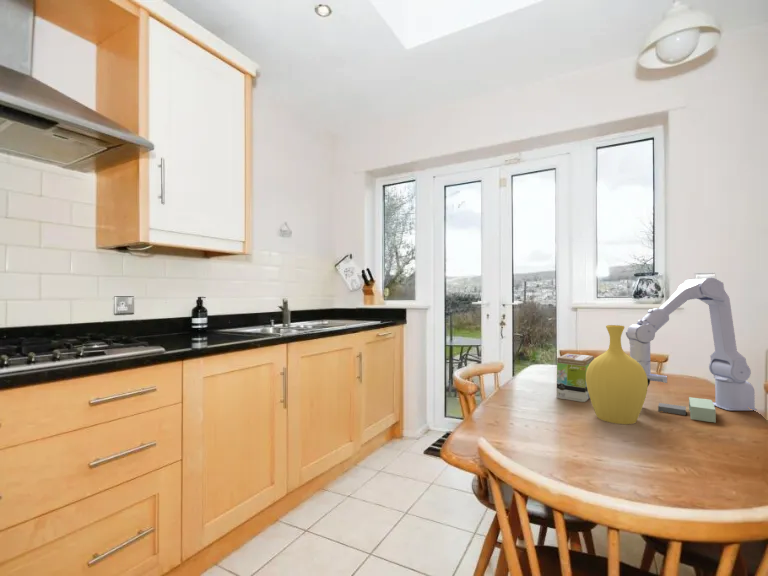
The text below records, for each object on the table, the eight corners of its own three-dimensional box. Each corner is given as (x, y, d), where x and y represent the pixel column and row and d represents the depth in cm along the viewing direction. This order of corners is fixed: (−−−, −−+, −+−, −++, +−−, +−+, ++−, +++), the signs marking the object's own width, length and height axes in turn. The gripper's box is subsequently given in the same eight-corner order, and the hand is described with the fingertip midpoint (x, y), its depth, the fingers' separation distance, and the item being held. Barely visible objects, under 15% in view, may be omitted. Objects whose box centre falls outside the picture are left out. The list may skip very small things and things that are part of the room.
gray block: (658, 412, 126) (658, 406, 126) (659, 408, 130) (659, 402, 130) (685, 416, 121) (685, 410, 121) (685, 412, 125) (685, 406, 125)
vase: (659, 429, 109) (657, 328, 109) (595, 425, 112) (594, 327, 112) (634, 412, 124) (633, 324, 125) (579, 409, 128) (578, 323, 128)
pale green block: (690, 419, 118) (690, 406, 118) (689, 408, 128) (688, 397, 128) (715, 422, 114) (715, 409, 114) (711, 411, 125) (711, 399, 125)
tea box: (586, 403, 135) (586, 360, 135) (555, 398, 141) (555, 357, 141) (594, 394, 147) (594, 354, 147) (565, 390, 153) (565, 352, 153)
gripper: (613, 359, 132) (613, 400, 131) (666, 364, 123) (667, 407, 123) (615, 357, 137) (616, 396, 137) (667, 361, 129) (667, 402, 129)
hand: (640, 401), depth 130 cm, fingers closed
